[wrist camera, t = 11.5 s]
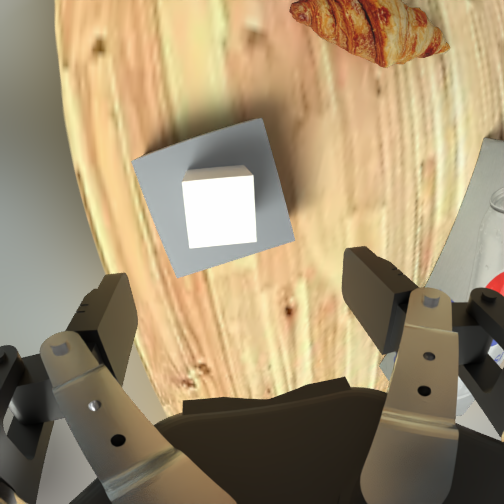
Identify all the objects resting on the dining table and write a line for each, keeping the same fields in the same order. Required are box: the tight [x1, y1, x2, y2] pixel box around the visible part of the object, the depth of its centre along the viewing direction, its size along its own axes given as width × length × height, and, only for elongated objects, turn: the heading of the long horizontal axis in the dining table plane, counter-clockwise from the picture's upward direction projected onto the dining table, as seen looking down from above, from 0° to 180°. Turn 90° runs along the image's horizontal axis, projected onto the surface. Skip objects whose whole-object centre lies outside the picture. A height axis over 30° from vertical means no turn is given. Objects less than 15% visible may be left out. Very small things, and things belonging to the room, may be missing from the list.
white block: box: [182, 165, 257, 248], centre depth 26 cm, size 5×5×6 cm
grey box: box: [131, 118, 295, 278], centre depth 32 cm, size 12×12×6 cm
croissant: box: [290, 0, 450, 68], centre depth 26 cm, size 21×10×8 cm, turn 92°
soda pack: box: [379, 138, 504, 416], centre depth 37 cm, size 41×13×14 cm, turn 161°
